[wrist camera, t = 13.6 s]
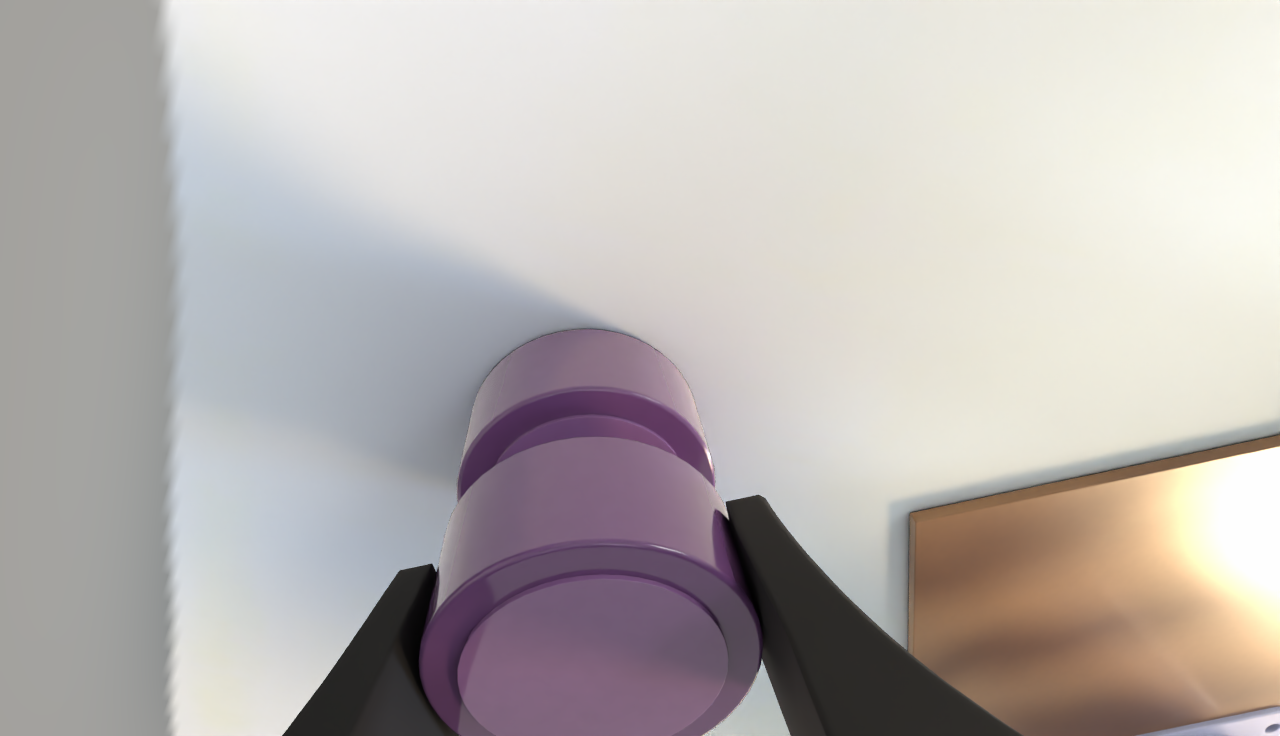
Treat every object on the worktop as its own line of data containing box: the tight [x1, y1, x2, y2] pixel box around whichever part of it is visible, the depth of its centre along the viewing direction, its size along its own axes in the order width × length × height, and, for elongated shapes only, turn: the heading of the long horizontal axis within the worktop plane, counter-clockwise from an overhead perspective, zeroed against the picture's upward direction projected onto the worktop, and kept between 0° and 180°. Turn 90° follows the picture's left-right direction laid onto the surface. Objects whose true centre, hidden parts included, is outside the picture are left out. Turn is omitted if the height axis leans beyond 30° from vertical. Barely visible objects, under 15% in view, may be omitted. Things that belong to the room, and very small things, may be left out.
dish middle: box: [418, 436, 764, 736], centre depth 12 cm, size 5×5×3 cm
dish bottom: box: [457, 329, 716, 502], centre depth 15 cm, size 5×5×3 cm
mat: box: [908, 435, 1280, 736], centre depth 22 cm, size 14×22×1 cm, turn 101°
